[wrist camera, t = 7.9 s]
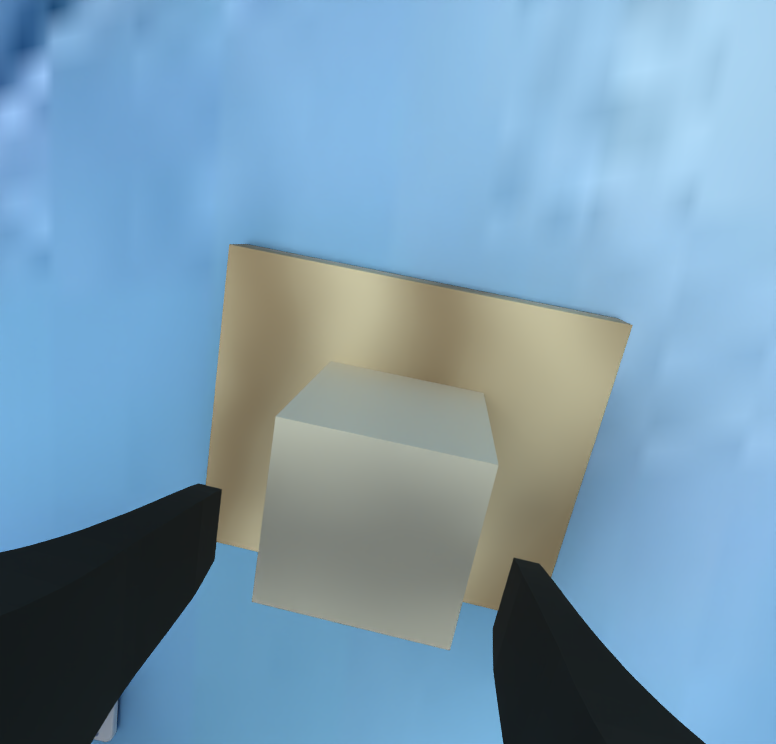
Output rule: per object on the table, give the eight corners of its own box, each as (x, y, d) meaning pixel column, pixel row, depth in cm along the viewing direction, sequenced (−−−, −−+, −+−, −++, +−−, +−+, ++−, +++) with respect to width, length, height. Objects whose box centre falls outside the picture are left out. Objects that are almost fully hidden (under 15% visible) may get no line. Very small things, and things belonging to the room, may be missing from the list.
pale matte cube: (309, 496, 20) (251, 601, 14) (330, 360, 18) (275, 416, 13) (450, 529, 20) (449, 650, 14) (483, 392, 18) (498, 465, 12)
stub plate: (216, 518, 22) (157, 588, 18) (245, 244, 19) (183, 245, 15) (531, 594, 22) (552, 688, 17) (618, 318, 18) (672, 344, 14)
